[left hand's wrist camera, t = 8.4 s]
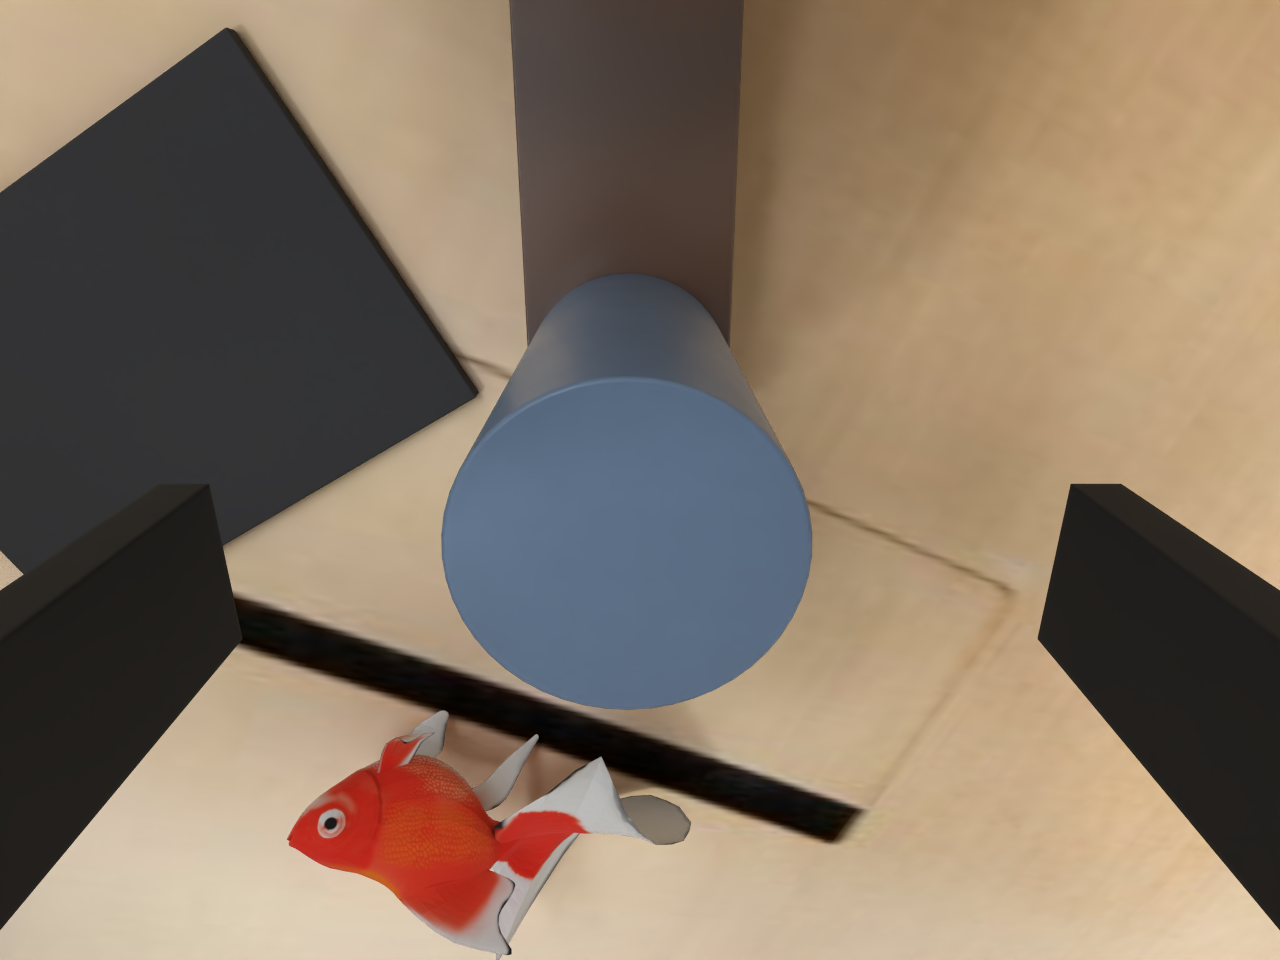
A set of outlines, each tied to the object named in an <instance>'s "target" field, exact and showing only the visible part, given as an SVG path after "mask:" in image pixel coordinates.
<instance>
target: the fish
mask: <svg viewBox="0 0 1280 960" xmlns="http://www.w3.org/2000/svg"><path fill="white" fill-rule="evenodd" d="M448 717H449V714H448V712H446V711H439V712H438V713H436V714H434V715H433V716H431V717H429V718H428V719H426V720H425V721H424V722H422V723H421V724H420V725H418V726H417V727H416V728H415V729H414V730H413V731H412V733H411V734H410V735H407V736H402V737H398V738H395V739H393V740H391V741H390V742H388V743H387V744H386V745H385V747H384V749H383V752H382V754H381V758H380V760H379V761H377V762H375V763H373V764H370V765H368V766H367V767H365V768H362V769H360V770H358V771H356V772H354V773H353V774H351V775H350V776H348V777H347V778H346V779H344V780H343V781H341V782H340V783H338V784H337V785H335V786H333V787H332V788H330V789H329V790H328V791H326V792H325V793H323V794H322V795H321V796H319V797H318V798H317V799H316V800H315V801H314V802H313V803H312V804H310V805H309V806H308V807H307V809H306V810H305V811H304V812H303V814H302V815H301V816H300V818H299V819H298V821H297V822H296V824H295V826H294V827H293V829H292V831H291V833H290V834H289V836H288V838H287V840H289V841H290V842H289V846H291V847H293V848H296V849H297V850H299V851H300V852H302V853H303V854H305V855H306V856H308V857H309V858H311V859H312V860H314V861H316V862H318V863H319V864H321V865H324V866H326V867H329V868H332V869H337V870H342V871H347V872H353V873H358V874H360V875H363V876H366V877H368V878H371V879H373V880H375V881H378V882H379V883H381V884H383V885H385V886H386V887H387V888H389V889H390V890H391V891H392V892H393V893H394V894H395V895H396V896H397V898H398V899H399V900H400V901H401V902H402V903H403V904H404V905H405V906H406V907H407V908H408V909H409V910H410V911H411V912H412V913H413V914H414V915H415V916H416V917H417V918H419V919H420V920H421V921H422V922H424V923H425V924H426V925H427V926H429V927H430V928H431V929H432V930H433V931H435V932H437V933H438V934H440V935H442V936H443V937H445V938H447V939H449V940H450V941H452V942H454V943H457V944H460V945H464V946H467V947H471V948H474V949H478V950H483V951H488V952H493V953H496V959H497V960H499V959H500V958H501V956H502V954H504V955H510V954H511V948H510V946H509V945H508V944H509V942H510V940H511V939H512V937H513V935H514V933H515V932H516V930H517V928H518V927H519V925H520V923H521V921H522V920H523V918H524V916H525V915H526V913H527V911H528V909H529V908H530V906H531V905H532V903H533V902H534V900H535V898H536V897H537V895H538V894H539V892H540V891H541V889H542V887H543V886H544V884H545V883H546V881H547V880H548V878H549V876H550V875H551V873H552V872H553V870H554V869H555V867H556V865H557V864H558V862H559V861H560V859H561V858H562V856H563V855H564V853H565V852H566V851H567V849H568V848H569V847H570V845H571V844H572V843H573V842H574V840H575V839H576V838H577V836H578V835H579V834H580V833H599V834H617V835H624V836H630V837H636V838H640V839H644V840H647V841H649V842H651V843H653V844H655V845H668V844H675V843H678V842H681V841H684V839H685V838H686V836H687V834H688V832H689V830H690V826H691V822H690V820H689V819H688V818H687V816H686V815H685V814H684V813H683V811H682V810H681V808H680V807H679V806H677V805H675V804H672V803H670V802H668V801H666V800H663V799H660V798H658V797H655V796H652V795H642V796H630V797H626V798H621V799H620V798H619V795H618V793H617V791H616V788H615V786H614V784H613V781H612V779H611V777H610V775H609V773H608V770H607V768H606V766H605V764H604V761H603V759H602V757H600V758H598V759H596V760H594V761H592V762H590V763H588V764H586V765H585V766H583V767H581V768H579V769H577V770H576V771H574V772H573V773H572V774H571V775H569V776H568V777H567V778H566V779H565V780H563V781H562V782H561V783H560V784H558V785H557V786H556V787H555V788H554V789H552V790H551V791H550V792H549V793H547V794H546V795H544V796H542V797H541V798H539V799H537V800H535V801H534V802H532V803H530V804H529V805H527V806H526V807H524V808H522V809H521V810H519V811H517V812H516V813H514V814H513V815H511V816H509V817H508V818H506V819H505V820H503V821H501V822H498V821H494V820H493V819H491V818H490V817H489V816H488V815H487V814H486V812H485V811H488V810H491V809H493V808H495V807H497V806H499V805H500V804H501V803H502V802H503V801H504V800H505V799H506V797H507V796H508V794H509V792H510V791H511V789H512V787H513V785H514V783H515V781H516V779H517V777H518V775H519V773H520V771H521V769H522V767H523V765H524V763H525V761H526V759H527V758H528V756H529V754H530V752H531V750H532V749H533V747H534V745H535V744H536V742H537V740H538V738H539V736H538V735H537V734H536V735H534V736H533V737H532V738H531V739H530V740H529V741H527V742H526V743H525V744H524V745H523V746H521V747H520V748H519V749H518V750H516V751H515V752H514V753H513V754H512V755H511V756H509V757H508V758H507V759H506V760H505V761H504V762H503V763H502V764H501V765H500V767H499V768H498V769H497V770H496V771H495V772H494V773H493V774H492V775H491V776H490V777H489V778H488V779H487V780H486V781H485V782H483V783H482V784H480V785H479V786H477V787H474V788H471V787H470V786H469V784H468V783H467V782H466V780H465V779H464V778H463V777H462V776H461V775H460V774H459V773H457V772H456V771H455V770H454V769H452V768H451V767H450V766H448V765H446V764H445V763H443V762H442V761H439V760H437V759H435V758H434V757H435V756H437V755H438V754H439V753H440V752H441V751H442V749H443V746H444V738H445V730H446V725H447V721H448ZM492 866H493V869H494V871H495V872H492V871H490V870H489V869H490V868H491V867H492Z"/></svg>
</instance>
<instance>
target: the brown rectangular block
mask: <svg viewBox="0 0 1280 960" xmlns="http://www.w3.org/2000/svg"><path fill="white" fill-rule="evenodd" d="M509 2H510V21H511V40H512V59H513V78H514V97H515V116H516V135H517V154H518V173H519V192H520V210H521V229H522V248H523V267H524V286H525V305H526V324H527V343H528V346H529V344H530V343H531V341H532V339H533V337H534V335H535V334H536V332H537V330H538V328H539V326H540V325H541V323H542V322H543V320H544V318H545V317H546V315H547V314H548V313H549V311H550V310H551V309H552V308H553V307H554V305H555V304H556V303H557V302H558V301H560V300H561V299H562V298H563V297H564V296H565V295H566V294H568V293H569V292H571V291H572V290H574V289H575V288H577V287H578V286H580V285H582V284H584V283H586V282H588V281H591V280H594V279H597V278H600V277H603V276H608V275H613V274H624V273H633V274H644V275H649V276H654V277H657V278H660V279H663V280H666V281H669V282H671V283H673V284H675V285H677V286H679V287H681V288H682V289H684V290H685V291H686V292H688V293H689V294H691V295H692V296H693V297H694V298H695V299H697V300H698V301H699V302H700V303H701V304H702V305H703V306H704V308H705V309H706V310H707V311H708V312H709V313H710V315H711V316H712V318H713V319H714V321H715V323H716V324H717V326H718V328H719V330H720V331H721V333H722V335H723V337H724V339H725V341H726V343H727V345H728V347H729V348H730V324H731V299H732V275H733V250H734V226H735V201H736V177H737V152H738V128H739V103H740V79H741V54H742V29H743V5H744V0H509Z"/></svg>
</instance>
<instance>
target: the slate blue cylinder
mask: <svg viewBox="0 0 1280 960" xmlns="http://www.w3.org/2000/svg"><path fill="white" fill-rule="evenodd" d="M441 541H442V560H443V566H444V571H445V577H446V581H447V584H448V587H449V590H450V593H451V596H452V599H453V601H454V603H455V605H456V607H457V609H458V611H459V614H460V616H461V618H462V620H463V621H464V623H465V624H466V626H467V627H468V629H469V630H470V632H471V633H472V635H473V636H474V638H475V639H476V640H477V641H478V642H479V643H480V645H481V646H482V647H483V648H484V649H485V650H486V651H487V653H488V654H489V655H490V656H492V657H493V658H494V659H495V660H496V661H497V662H498V663H499V664H501V665H502V666H503V667H504V668H505V669H506V670H508V671H509V672H511V673H512V674H514V675H515V676H517V677H518V678H519V679H521V680H522V681H524V682H526V683H528V684H530V685H532V686H533V687H535V688H537V689H539V690H541V691H543V692H545V693H548V694H551V695H553V696H556V697H558V698H561V699H563V700H567V701H571V702H574V703H578V704H582V705H586V706H593V707H599V708H606V709H626V710H631V709H647V708H655V707H661V706H667V705H673V704H676V703H680V702H683V701H686V700H690V699H693V698H696V697H698V696H701V695H703V694H706V693H708V692H711V691H713V690H715V689H717V688H719V687H720V686H722V685H724V684H726V683H728V682H730V681H731V680H733V679H735V678H736V677H737V676H739V675H740V674H742V673H743V672H744V671H746V670H747V669H749V668H750V667H751V666H752V665H753V664H754V663H756V662H757V661H758V660H759V659H760V658H761V657H762V656H763V655H764V654H765V653H766V652H767V651H768V650H769V649H770V648H771V647H772V645H773V644H774V643H775V642H776V641H777V640H778V638H779V637H780V636H781V635H782V633H783V631H784V630H785V628H786V627H787V625H788V624H789V622H790V621H791V619H792V617H793V615H794V613H795V611H796V609H797V607H798V605H799V602H800V600H801V598H802V596H803V592H804V589H805V586H806V583H807V580H808V576H809V570H810V564H811V557H812V528H811V521H810V513H809V509H808V505H807V502H806V498H805V495H804V491H803V488H802V486H801V484H800V482H799V480H798V477H797V475H796V473H795V471H794V469H793V467H792V465H791V463H790V461H789V459H788V457H787V455H786V454H785V452H784V450H783V448H782V446H781V444H780V442H779V440H778V439H777V437H776V435H775V433H774V431H773V429H772V427H771V425H770V424H769V422H768V420H767V418H766V416H765V414H764V412H763V410H762V409H761V407H760V405H759V403H758V401H757V399H756V397H755V395H754V393H753V392H752V390H751V388H750V386H749V384H748V382H747V380H746V378H745V377H744V375H743V373H742V371H741V369H740V367H739V365H738V363H737V362H736V360H735V358H734V356H733V354H732V352H731V350H730V348H729V347H728V345H727V343H726V341H725V339H724V337H723V335H722V333H721V331H720V330H719V328H718V326H717V324H716V323H715V321H714V319H713V318H712V316H711V315H710V313H709V312H708V311H707V310H706V309H705V308H704V306H703V305H702V304H701V303H700V302H699V301H698V300H697V299H695V298H694V297H693V296H692V295H691V294H689V293H688V292H686V291H685V290H684V289H682V288H681V287H679V286H677V285H675V284H673V283H671V282H669V281H666V280H663V279H660V278H657V277H654V276H649V275H644V274H633V273H624V274H613V275H608V276H603V277H600V278H597V279H594V280H591V281H588V282H586V283H584V284H582V285H580V286H578V287H577V288H575V289H574V290H572V291H571V292H569V293H568V294H566V295H565V296H564V297H563V298H562V299H561V300H560V301H558V302H557V303H556V304H555V305H554V307H553V308H552V309H551V310H550V311H549V313H548V314H547V315H546V317H545V318H544V320H543V322H542V323H541V325H540V326H539V328H538V330H537V332H536V334H535V335H534V337H533V339H532V341H531V343H530V344H529V346H528V348H527V350H526V351H525V353H524V355H523V357H522V359H521V360H520V362H519V364H518V366H517V368H516V369H515V371H514V373H513V375H512V377H511V378H510V380H509V382H508V384H507V386H506V387H505V389H504V391H503V393H502V394H501V396H500V398H499V400H498V402H497V403H496V405H495V407H494V409H493V411H492V412H491V414H490V416H489V418H488V420H487V421H486V423H485V425H484V427H483V429H482V430H481V432H480V434H479V436H478V437H477V439H476V441H475V443H474V445H473V446H472V448H471V450H470V452H469V454H468V455H467V457H466V459H465V461H464V463H463V464H462V466H461V468H460V470H459V472H458V474H457V476H456V479H455V481H454V483H453V485H452V488H451V490H450V493H449V497H448V500H447V504H446V508H445V511H444V517H443V525H442V534H441Z"/></svg>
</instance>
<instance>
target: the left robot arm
mask: <svg viewBox="0 0 1280 960" xmlns="http://www.w3.org/2000/svg"><path fill="white" fill-rule="evenodd" d="M241 640H242V634H241V630H240V625H239V621H238V616H237V611H236V607H235V602H234V597H233V593H232V588H231V583H230V579H229V574H228V569H227V565H226V560H225V555H224V551H223V546H222V541H221V537H220V532H219V527H218V523H217V518H216V513H215V509H214V504H213V500H212V495H211V490H210V486H209V484H158V485H157V486H155V487H154V488H152V489H151V490H149V491H148V492H146V493H145V494H143V495H142V496H140V497H139V498H137V499H136V500H134V501H133V502H131V503H130V504H128V505H127V506H125V507H124V508H122V509H121V510H119V511H118V512H116V513H115V514H113V515H112V516H110V517H109V518H107V519H106V520H104V521H103V522H101V523H100V524H99V525H97V526H96V527H94V528H93V529H91V530H90V531H88V532H87V533H85V534H84V535H82V536H81V537H79V538H78V539H76V540H75V541H73V542H72V543H70V544H69V545H67V546H66V547H64V548H63V549H61V550H60V551H58V552H57V553H55V554H54V555H52V556H51V557H49V558H48V559H46V560H45V561H43V562H42V563H40V564H39V565H37V566H36V567H35V568H33V569H32V570H30V571H29V572H27V573H26V574H24V575H23V576H21V577H20V578H18V579H17V580H15V581H14V582H12V583H11V584H9V585H8V586H6V587H5V588H3V589H2V590H0V930H1V929H2V927H3V926H4V925H5V924H6V923H7V921H8V920H9V919H10V918H11V917H12V915H13V914H14V913H15V912H16V911H17V909H18V908H19V907H20V906H21V904H22V903H23V902H24V901H25V900H26V898H27V897H28V896H29V895H30V894H31V892H32V891H33V890H34V889H35V888H36V886H37V885H38V884H39V883H40V882H41V880H42V879H43V878H44V877H45V876H46V874H47V873H48V872H49V871H50V870H51V868H52V867H53V866H54V865H55V864H56V862H57V861H58V860H59V859H60V858H61V856H62V855H63V854H64V853H65V852H66V850H67V849H68V848H69V847H70V846H71V844H72V843H73V842H74V841H75V840H76V838H77V837H78V836H79V835H80V834H81V832H82V831H83V830H84V829H85V828H86V826H87V825H88V824H89V823H90V822H91V820H92V819H93V818H94V817H95V815H96V814H97V813H98V812H99V811H100V809H101V808H102V807H103V806H104V805H105V803H106V802H107V801H108V800H109V799H110V797H111V796H112V795H113V794H114V793H115V791H116V790H117V789H118V788H119V787H120V785H121V784H122V783H123V782H124V781H125V779H126V778H127V777H128V776H129V775H130V773H131V772H132V771H133V770H134V769H135V767H136V766H137V765H138V764H139V763H140V761H141V760H142V759H143V758H144V757H145V755H146V754H147V753H148V752H149V751H150V749H151V748H152V747H153V746H154V745H155V743H156V742H157V741H158V740H159V739H160V737H161V736H162V735H163V734H164V733H165V731H166V730H167V729H168V728H169V726H170V725H171V724H172V723H173V722H174V720H175V719H176V718H177V717H178V716H179V714H180V713H181V712H182V711H183V710H184V708H185V707H186V706H187V705H188V704H189V702H190V701H191V700H192V699H193V698H194V696H195V695H196V694H197V693H198V692H199V690H200V689H201V688H202V687H203V686H204V684H205V683H206V682H207V681H208V680H209V678H210V677H211V676H212V675H213V674H214V672H215V671H216V670H217V669H218V668H219V666H220V665H221V664H222V663H223V662H224V660H225V659H226V658H227V657H228V656H229V654H230V653H231V652H232V651H233V650H234V648H235V647H236V646H237V645H238V643H239V642H240V641H241ZM1038 640H1039V641H1040V642H1041V643H1042V645H1043V646H1044V647H1045V648H1046V650H1047V651H1048V652H1049V653H1050V654H1051V656H1052V657H1053V658H1054V659H1055V660H1056V662H1057V663H1058V664H1059V665H1060V666H1061V668H1062V669H1063V670H1064V671H1065V672H1066V674H1067V675H1068V676H1069V677H1070V678H1071V680H1072V681H1073V682H1074V683H1075V684H1076V686H1077V687H1078V688H1079V689H1080V690H1081V692H1082V693H1083V694H1084V695H1085V696H1086V698H1087V699H1088V700H1089V701H1090V702H1091V704H1092V705H1093V706H1094V707H1095V708H1096V710H1097V711H1098V712H1099V713H1100V714H1101V716H1102V717H1103V718H1104V719H1105V720H1106V722H1107V723H1108V724H1109V725H1110V726H1111V728H1112V729H1113V730H1114V731H1115V733H1116V734H1117V735H1118V736H1119V737H1120V739H1121V740H1122V741H1123V742H1124V743H1125V745H1126V746H1127V747H1128V748H1129V749H1130V751H1131V752H1132V753H1133V754H1134V755H1135V757H1136V758H1137V759H1138V760H1139V761H1140V763H1141V764H1142V765H1143V766H1144V767H1145V769H1146V770H1147V771H1148V772H1149V773H1150V775H1151V776H1152V777H1153V778H1154V779H1155V781H1156V782H1157V783H1158V784H1159V785H1160V787H1161V788H1162V789H1163V790H1164V791H1165V793H1166V794H1167V795H1168V796H1169V797H1170V799H1171V800H1172V801H1173V802H1174V803H1175V805H1176V806H1177V807H1178V808H1179V809H1180V811H1181V812H1182V813H1183V814H1184V815H1185V817H1186V818H1187V819H1188V820H1189V822H1190V823H1191V824H1192V825H1193V826H1194V828H1195V829H1196V830H1197V831H1198V832H1199V834H1200V835H1201V836H1202V837H1203V838H1204V840H1205V841H1206V842H1207V843H1208V844H1209V846H1210V847H1211V848H1212V849H1213V850H1214V852H1215V853H1216V854H1217V855H1218V856H1219V858H1220V859H1221V860H1222V861H1223V862H1224V864H1225V865H1226V866H1227V867H1228V868H1229V870H1230V871H1231V872H1232V873H1233V874H1234V876H1235V877H1236V878H1237V879H1238V880H1239V882H1240V883H1241V884H1242V885H1243V886H1244V888H1245V889H1246V890H1247V891H1248V892H1249V894H1250V895H1251V896H1252V897H1253V898H1254V900H1255V901H1256V902H1257V903H1258V904H1259V906H1260V907H1261V908H1262V909H1263V911H1264V912H1265V913H1266V914H1267V915H1268V917H1269V918H1270V919H1271V920H1272V921H1273V923H1274V924H1275V925H1276V926H1277V927H1278V929H1279V930H1280V590H1278V589H1277V588H1275V587H1274V586H1272V585H1271V584H1269V583H1268V582H1266V581H1265V580H1263V579H1262V578H1260V577H1259V576H1257V575H1256V574H1254V573H1253V572H1251V571H1250V570H1248V569H1247V568H1245V567H1244V566H1243V565H1241V564H1240V563H1238V562H1237V561H1235V560H1234V559H1232V558H1231V557H1229V556H1228V555H1226V554H1225V553H1223V552H1222V551H1220V550H1219V549H1217V548H1216V547H1214V546H1213V545H1211V544H1210V543H1208V542H1207V541H1205V540H1204V539H1202V538H1201V537H1199V536H1198V535H1196V534H1195V533H1193V532H1192V531H1190V530H1189V529H1187V528H1186V527H1184V526H1183V525H1182V524H1180V523H1179V522H1177V521H1176V520H1174V519H1173V518H1171V517H1170V516H1168V515H1167V514H1165V513H1164V512H1162V511H1161V510H1159V509H1158V508H1156V507H1155V506H1153V505H1152V504H1150V503H1149V502H1147V501H1146V500H1144V499H1143V498H1141V497H1140V496H1138V495H1137V494H1135V493H1134V492H1132V491H1131V490H1129V489H1128V488H1126V487H1125V486H1123V485H1122V484H1071V486H1070V490H1069V495H1068V500H1067V504H1066V509H1065V513H1064V518H1063V523H1062V527H1061V532H1060V537H1059V541H1058V546H1057V551H1056V555H1055V560H1054V565H1053V569H1052V574H1051V579H1050V583H1049V588H1048V593H1047V597H1046V602H1045V607H1044V611H1043V616H1042V621H1041V625H1040V630H1039V634H1038Z"/></svg>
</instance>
